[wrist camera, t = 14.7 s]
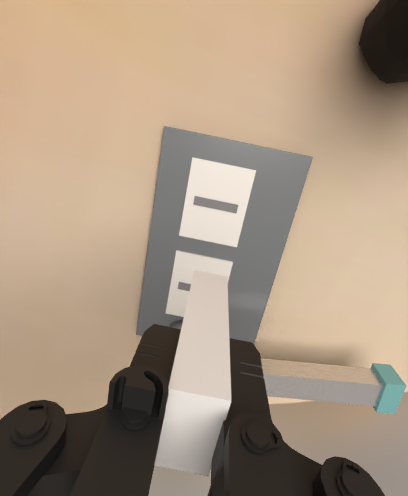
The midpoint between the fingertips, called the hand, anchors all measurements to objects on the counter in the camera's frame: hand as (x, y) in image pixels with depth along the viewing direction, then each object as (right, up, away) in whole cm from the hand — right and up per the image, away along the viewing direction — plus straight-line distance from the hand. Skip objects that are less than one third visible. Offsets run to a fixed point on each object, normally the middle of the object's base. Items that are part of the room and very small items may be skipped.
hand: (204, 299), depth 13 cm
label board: (+1, +2, +23) cm, 23 cm away
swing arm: (+8, -12, +21) cm, 25 cm away
